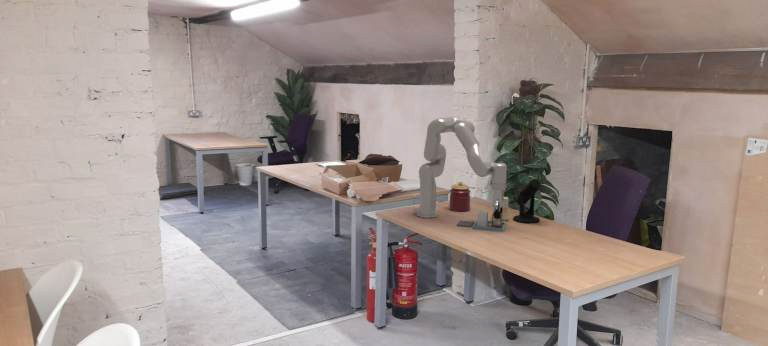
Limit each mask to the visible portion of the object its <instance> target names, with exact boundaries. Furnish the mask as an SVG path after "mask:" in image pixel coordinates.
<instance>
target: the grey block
mask: <svg viewBox="0 0 768 346" xmlns="http://www.w3.org/2000/svg"><path fill="white" fill-rule="evenodd" d="M488 218H489V211H487V210H478V212H477V219H476V220H477V225H476V226H482V227H488V225H489V224H488V221H489V219H488Z"/></svg>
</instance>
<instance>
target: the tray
mask: <svg viewBox="0 0 768 346" xmlns="http://www.w3.org/2000/svg"><path fill="white" fill-rule="evenodd" d="M489 224H490V225H492V220H488V225H489ZM506 226H507V221H502V228H493V227H492V226H487V227H482V226H477V219H476V220H475V221H474V224H473V225H472V227H471V228H472V229H473V230H484V231H493V232H494V231H495V232H502V233H503V232H505V231H504V230H505V229H506Z"/></svg>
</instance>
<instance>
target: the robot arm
mask: <svg viewBox="0 0 768 346" xmlns="http://www.w3.org/2000/svg"><path fill="white" fill-rule="evenodd" d="M475 131H476V129H475V125H474V124H473V123H472V121H468V120H465V119H462V118H457V117H454V116H453V117H451V116H447V117H440V118H436V119H433V120H432V121H431V122H430V123H429V124H428V126H427V130H426V139H425V144H424V150H423V157H424V159H425V160H426V161H427V162H426V163H423V164H422V165H421V166H420V167H419V169H418V178H419V206H418V207H415V206H414V207H413V208H412V211H413V212H416V216H417V217H419V218H423V219H425V218H426V219H431V218H437V217H438V216H439V213H438V212H436V211H437V209H436V208H437V206H436V205H437V183H436V178H438V177H441V175H442V174H443V172H444V169H445V165H446V158H447V150H446V149H447V148H446V147H445V146H444V145H443V144H442V143H441V140H442V136H441V134H444V133H454V135H455V136H456V137H457V139H458V140H459V142H460V144H461V146H462V147H463V149H464V150H465V152H466V159H467V161H468V164H469V167H470V168H471V169H472V170H473V173H474V174H475V175H476V176H477V177H479V178H483V177H487V176H488V177H489V176H491V175H492V177H491V189H492V190H493V193H492V204H491V206H492V208H493V207H494V206H495V210H494V219H500V213H502V209H503V208H501V207H502V205H503V200H504V197H505V192H504V190H506V189H507V169H508V168H507V164H506V163H503V162H495V161H489V160H488V161H483V160H482V158H481V157H480V154H479V148H480V142H479V140H478V139H477V138H476V136H475Z"/></svg>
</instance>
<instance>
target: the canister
mask: <svg viewBox="0 0 768 346" xmlns="http://www.w3.org/2000/svg"><path fill="white" fill-rule="evenodd" d="M450 187H451V189H450V190H449V192H450V195H449V210H450V211H454V212H459V213H460V212H462V213H463V212H469V211H470V209H471V197H472V196H471V192H472V191H471V190H470V186H468V184H463V182H462V181H459V182H458V183H455V184H453V185H451V186H450Z"/></svg>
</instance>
